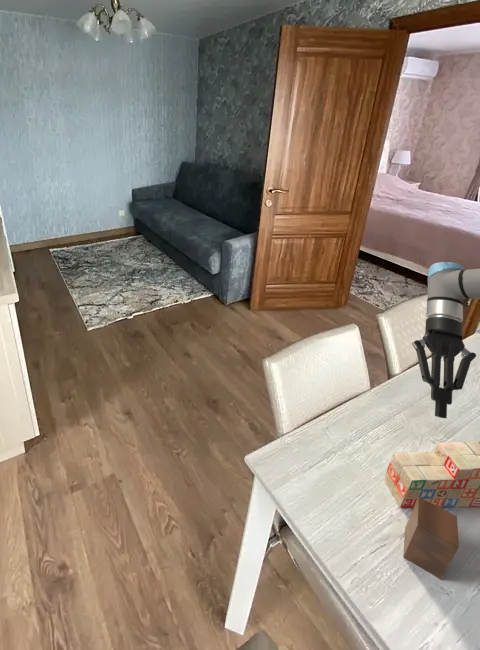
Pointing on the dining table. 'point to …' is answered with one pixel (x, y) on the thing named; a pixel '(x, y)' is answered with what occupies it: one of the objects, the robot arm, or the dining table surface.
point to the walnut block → (431, 537)
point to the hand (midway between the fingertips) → (440, 417)
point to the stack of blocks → (437, 475)
